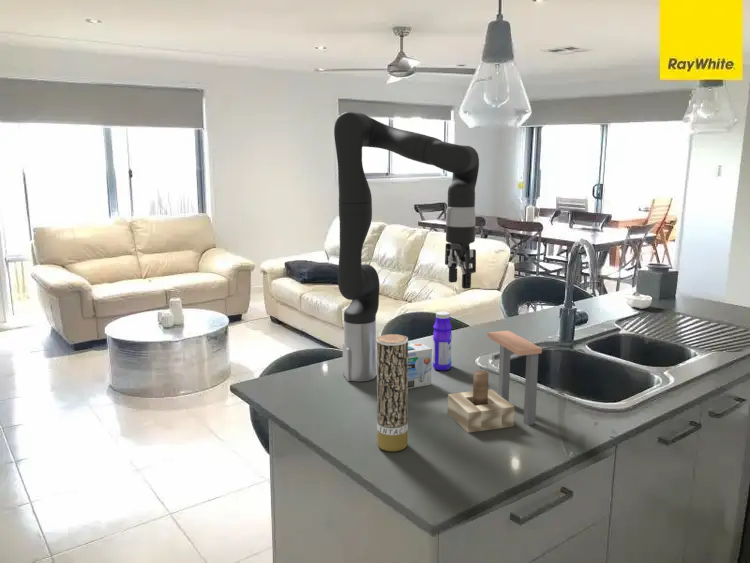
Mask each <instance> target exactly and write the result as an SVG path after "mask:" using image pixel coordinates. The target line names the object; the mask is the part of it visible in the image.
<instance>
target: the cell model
mask: <svg viewBox="0 0 750 563" xmlns="http://www.w3.org/2000/svg"><path fill="white" fill-rule="evenodd" d="M624 298H625V303H626V304H627V306H628V307H631V308H634V307H635V309H641V310H642V309H647V308H648V307H649V306H650V305H651V304H652V300H653V297H652V296H650V295H645V294H641V293H639V292H638V291H633V292H631V293H628V294H625V295H624Z"/></svg>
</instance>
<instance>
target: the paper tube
mask: <svg viewBox="0 0 750 563" xmlns="http://www.w3.org/2000/svg"><path fill="white" fill-rule="evenodd" d="M408 345H409V337H408V336H406V335H403V334H397V333H393V334H392V333H391V334H383V335H379V336H376V430H377V432H376V433H377V434H376V436H377V437H376V438H377V441H376V444H377V446H378V448H379V449H381V450H383V451H386V452H391V453H392V452H399V451H402V450H404V449H405V448H406V447H407V446H408V437H409V436H408V430H409V429H408V428H409V426H408V424H409V423H408V422H409V420H408V419H409V416H408V415H409V414H408V413H409V412H408V410H409V407H408V406H409V389H408Z"/></svg>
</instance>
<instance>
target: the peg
mask: <svg viewBox="0 0 750 563" xmlns="http://www.w3.org/2000/svg"><path fill="white" fill-rule="evenodd" d="M472 374H473V382H472V391H473V404H474V405H475V406H477V405H485V404H488V389H489V375H490V374H489V372H488V371H485V370H475V371H473V373H472Z"/></svg>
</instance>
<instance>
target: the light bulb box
mask: <svg viewBox="0 0 750 563" xmlns="http://www.w3.org/2000/svg"><path fill="white" fill-rule="evenodd" d="M432 368H433V348H431V347H429V346H427V345H425V344H423V343H421V342H417V343H410V344H408V390H409V389H414V388H420V387H425V386H430V385H432Z"/></svg>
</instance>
